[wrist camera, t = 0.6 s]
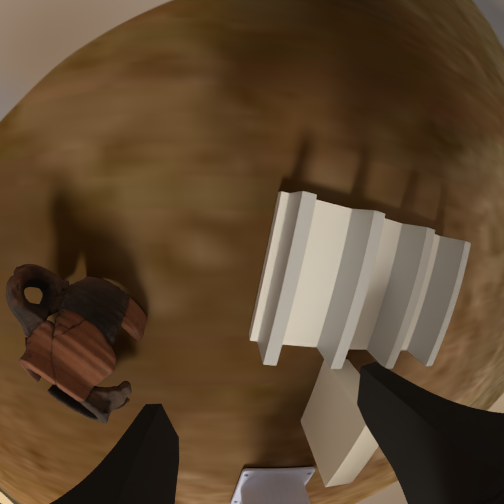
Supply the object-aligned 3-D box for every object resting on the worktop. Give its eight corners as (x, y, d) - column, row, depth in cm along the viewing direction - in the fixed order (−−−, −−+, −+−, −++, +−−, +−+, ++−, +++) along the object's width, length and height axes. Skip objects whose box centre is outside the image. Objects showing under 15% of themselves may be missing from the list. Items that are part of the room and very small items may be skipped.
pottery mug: (184, 339, 19) (145, 439, 13) (117, 350, 23) (82, 420, 17) (70, 210, 14) (-20, 301, 8) (30, 258, 18) (-25, 324, 12)
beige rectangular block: (322, 420, 22) (351, 482, 14) (300, 421, 21) (325, 487, 14) (347, 359, 21) (395, 419, 13) (324, 358, 20) (366, 423, 13)
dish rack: (410, 345, 21) (435, 365, 17) (248, 334, 19) (254, 363, 15) (442, 237, 20) (474, 244, 16) (278, 192, 18) (293, 188, 14)
